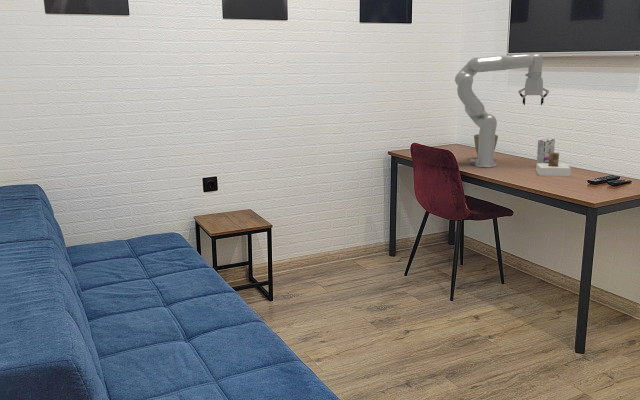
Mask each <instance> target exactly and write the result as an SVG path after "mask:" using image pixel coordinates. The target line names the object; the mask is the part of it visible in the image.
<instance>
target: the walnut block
mask: <svg viewBox="0 0 640 400" xmlns="http://www.w3.org/2000/svg"><path fill="white" fill-rule="evenodd" d="M559 158H560V152H554V153H549V165H548V166H554V167H558V164H559V161H560V159H559Z"/></svg>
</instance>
